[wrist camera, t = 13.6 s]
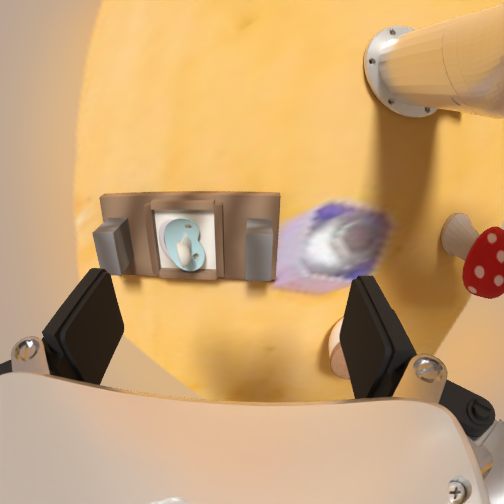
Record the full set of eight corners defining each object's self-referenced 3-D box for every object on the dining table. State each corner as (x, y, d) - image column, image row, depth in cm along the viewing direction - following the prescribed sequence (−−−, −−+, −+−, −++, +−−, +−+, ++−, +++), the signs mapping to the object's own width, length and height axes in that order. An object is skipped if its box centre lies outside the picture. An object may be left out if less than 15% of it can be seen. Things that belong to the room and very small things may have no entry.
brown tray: (279, 192, 38) (283, 210, 32) (274, 273, 44) (277, 301, 38) (104, 194, 38) (81, 210, 32) (117, 268, 44) (100, 292, 38)
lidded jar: (332, 297, 46) (345, 339, 37) (391, 301, 46) (412, 339, 38) (316, 346, 51) (324, 388, 42) (370, 347, 51) (384, 386, 43)
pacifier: (168, 265, 42) (209, 260, 41) (155, 290, 36) (200, 286, 35) (154, 216, 38) (197, 209, 38) (136, 237, 33) (185, 230, 32)
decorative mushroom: (440, 196, 37) (503, 242, 24) (479, 205, 38) (539, 248, 24) (423, 257, 42) (471, 316, 29) (461, 260, 42) (510, 313, 29)
